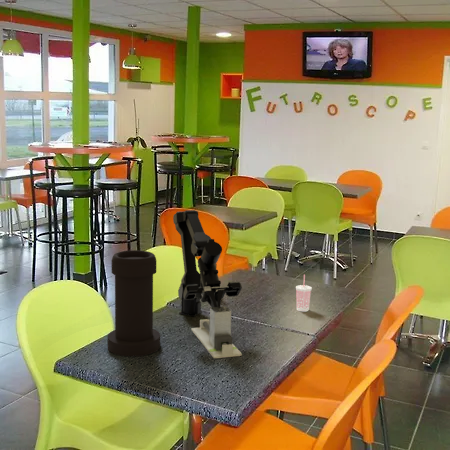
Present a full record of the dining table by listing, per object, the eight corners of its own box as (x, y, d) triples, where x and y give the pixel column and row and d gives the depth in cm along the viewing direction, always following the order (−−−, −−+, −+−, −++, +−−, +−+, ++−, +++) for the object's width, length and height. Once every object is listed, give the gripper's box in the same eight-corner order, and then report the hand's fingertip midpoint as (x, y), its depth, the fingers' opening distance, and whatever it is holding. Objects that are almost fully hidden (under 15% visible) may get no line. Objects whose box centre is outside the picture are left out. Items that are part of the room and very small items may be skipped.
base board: (191, 329, 210) (191, 320, 210) (216, 327, 213) (216, 318, 213) (214, 358, 186) (214, 347, 186) (241, 355, 189) (242, 345, 188)
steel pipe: (202, 327, 210) (202, 321, 210) (207, 326, 211) (208, 321, 210) (223, 351, 188) (223, 345, 188) (229, 351, 189) (229, 345, 189)
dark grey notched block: (214, 347, 192) (214, 336, 191) (229, 346, 194) (229, 334, 193) (216, 350, 190) (217, 338, 189) (232, 349, 191) (232, 337, 191)
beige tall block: (209, 342, 197) (210, 307, 195) (225, 340, 198) (226, 306, 196) (214, 347, 192) (214, 312, 190) (230, 346, 194) (231, 311, 192)
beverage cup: (310, 307, 239) (312, 273, 236) (310, 312, 233) (312, 277, 230) (294, 306, 239) (296, 272, 237) (294, 311, 233) (296, 276, 231)
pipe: (139, 333, 206) (139, 246, 200) (170, 347, 194) (171, 255, 189) (97, 345, 194) (96, 253, 189) (127, 360, 183) (127, 263, 177)
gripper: (228, 282, 214) (238, 322, 205) (177, 285, 208) (184, 327, 200) (237, 265, 205) (247, 307, 197) (183, 268, 199) (191, 311, 191)
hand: (217, 313), depth 196 cm, fingers closed, pressing on beige tall block
